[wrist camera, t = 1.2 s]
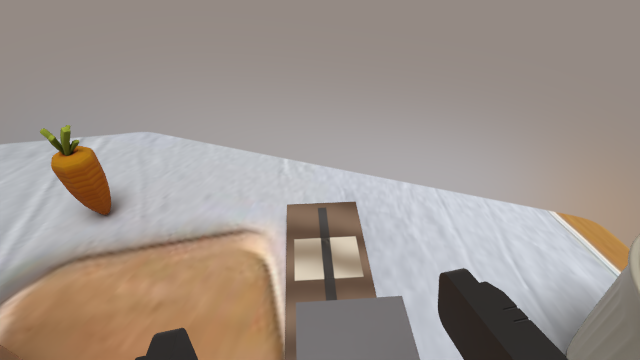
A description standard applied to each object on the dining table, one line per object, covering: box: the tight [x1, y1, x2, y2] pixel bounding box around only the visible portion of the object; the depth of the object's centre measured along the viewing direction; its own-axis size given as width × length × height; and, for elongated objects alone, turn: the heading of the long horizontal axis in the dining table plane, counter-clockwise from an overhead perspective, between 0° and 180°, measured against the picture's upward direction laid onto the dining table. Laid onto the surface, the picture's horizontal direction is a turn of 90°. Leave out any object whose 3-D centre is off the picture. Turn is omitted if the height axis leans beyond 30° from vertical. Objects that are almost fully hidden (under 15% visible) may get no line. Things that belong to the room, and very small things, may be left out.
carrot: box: [40, 125, 111, 215], centre depth 43 cm, size 5×5×15 cm
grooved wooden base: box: [285, 202, 377, 360], centre depth 36 cm, size 28×10×3 cm, turn 4°
